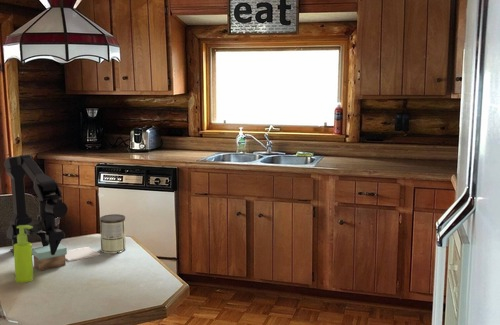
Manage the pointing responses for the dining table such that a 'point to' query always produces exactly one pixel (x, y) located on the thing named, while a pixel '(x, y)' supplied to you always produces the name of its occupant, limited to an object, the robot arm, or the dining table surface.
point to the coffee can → (112, 233)
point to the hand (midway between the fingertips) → (49, 252)
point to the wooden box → (49, 262)
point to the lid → (48, 252)
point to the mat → (80, 254)
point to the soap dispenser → (23, 256)
